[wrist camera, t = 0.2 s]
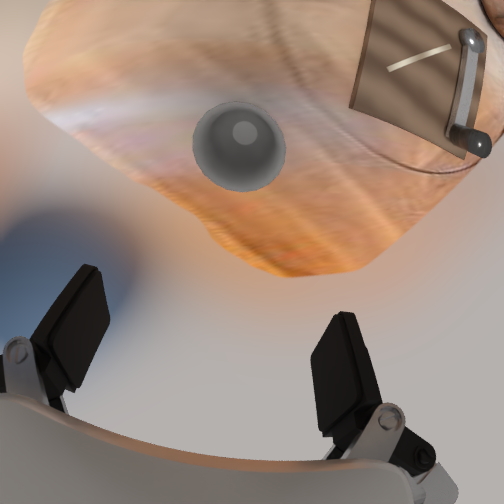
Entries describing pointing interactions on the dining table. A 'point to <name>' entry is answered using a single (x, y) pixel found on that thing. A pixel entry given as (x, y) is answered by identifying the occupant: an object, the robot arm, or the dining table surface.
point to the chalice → (239, 146)
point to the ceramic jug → (495, 13)
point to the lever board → (415, 68)
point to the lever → (467, 98)
